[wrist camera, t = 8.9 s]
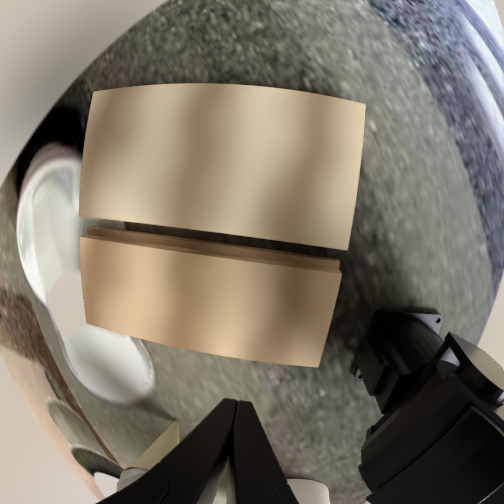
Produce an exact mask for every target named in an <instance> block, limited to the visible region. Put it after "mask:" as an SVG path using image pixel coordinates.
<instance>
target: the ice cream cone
mask: <svg viewBox="0 0 504 504" xmlns="http://www.w3.org/2000/svg"><path fill="white" fill-rule="evenodd" d="M178 443H179V421H177V420H175V421H174V422H173V423H172V424H171V425H170V426H169V427H168V428H167V429H166V430H165V431H164V432H163V433H162V434H161V435H160V436H159V437H158V438H157V439H156V440H155V441H154V442H153V443H152V445H151V446H150V447H149V448H148V449H147V450H146V451H145V452H144V453H143V454H142V455H141V456H140V457H138V458H137V459H136V460H135V461H134V462H133V463H132V464H131V465H130V466H129V467H126V468H125V469H124V472H122V473H121V476H120V479H119V482H118V483H117V492H118V491H119V490H121V489H123V488H124V487H126V486H128V485H129V484H131V483H132V482H134V481H135V480H137V479H138V478H139V477H141V476H142V475H143V474H145V473H146V472H147V471H148V470H149V469H151V468H152V467H153V466H154V465H155V464H156V463H157V462H160V460H161V459H162V458H163V457H164V456H165V455H166V454H168V453H169V452H170V451H171V450H172V449H173V448H174V447H175V446H176V445H177V444H178Z"/></svg>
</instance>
